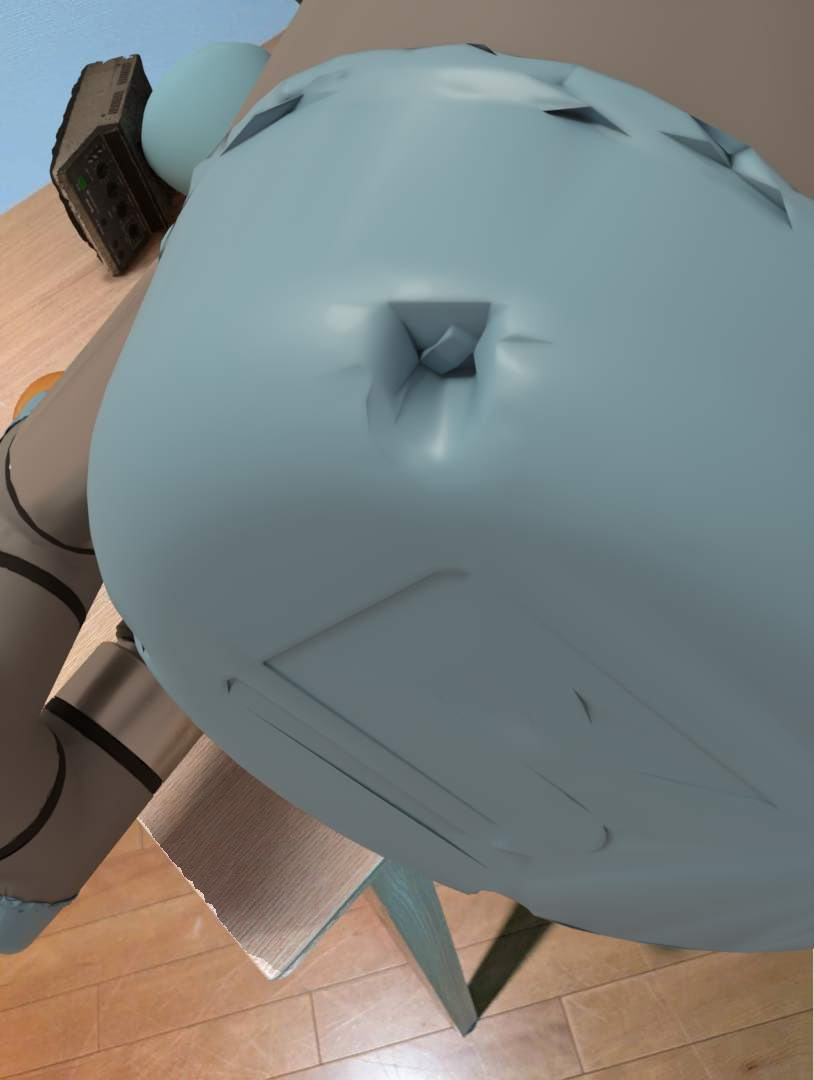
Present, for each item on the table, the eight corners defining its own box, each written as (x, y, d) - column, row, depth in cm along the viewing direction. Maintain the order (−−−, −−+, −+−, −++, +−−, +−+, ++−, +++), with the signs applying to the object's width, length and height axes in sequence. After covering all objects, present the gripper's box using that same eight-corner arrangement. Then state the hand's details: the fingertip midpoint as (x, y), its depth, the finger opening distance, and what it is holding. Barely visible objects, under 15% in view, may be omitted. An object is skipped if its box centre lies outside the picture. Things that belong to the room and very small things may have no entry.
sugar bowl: (247, -4, 88) (329, 93, 87) (277, 95, 103) (348, 179, 101) (107, 101, 87) (187, 200, 86) (157, 185, 102) (227, 271, 101)
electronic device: (40, 174, 87) (109, 162, 86) (79, 61, 97) (141, 49, 96) (100, 281, 97) (163, 271, 96) (130, 168, 107) (187, 158, 106)
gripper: (81, 640, 64) (307, 391, 73) (309, 787, 55) (533, 483, 64) (22, 574, 58) (275, 312, 67) (266, 726, 49) (520, 401, 58)
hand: (401, 396), depth 66 cm, fingers closed on beverage can, 6 cm apart
